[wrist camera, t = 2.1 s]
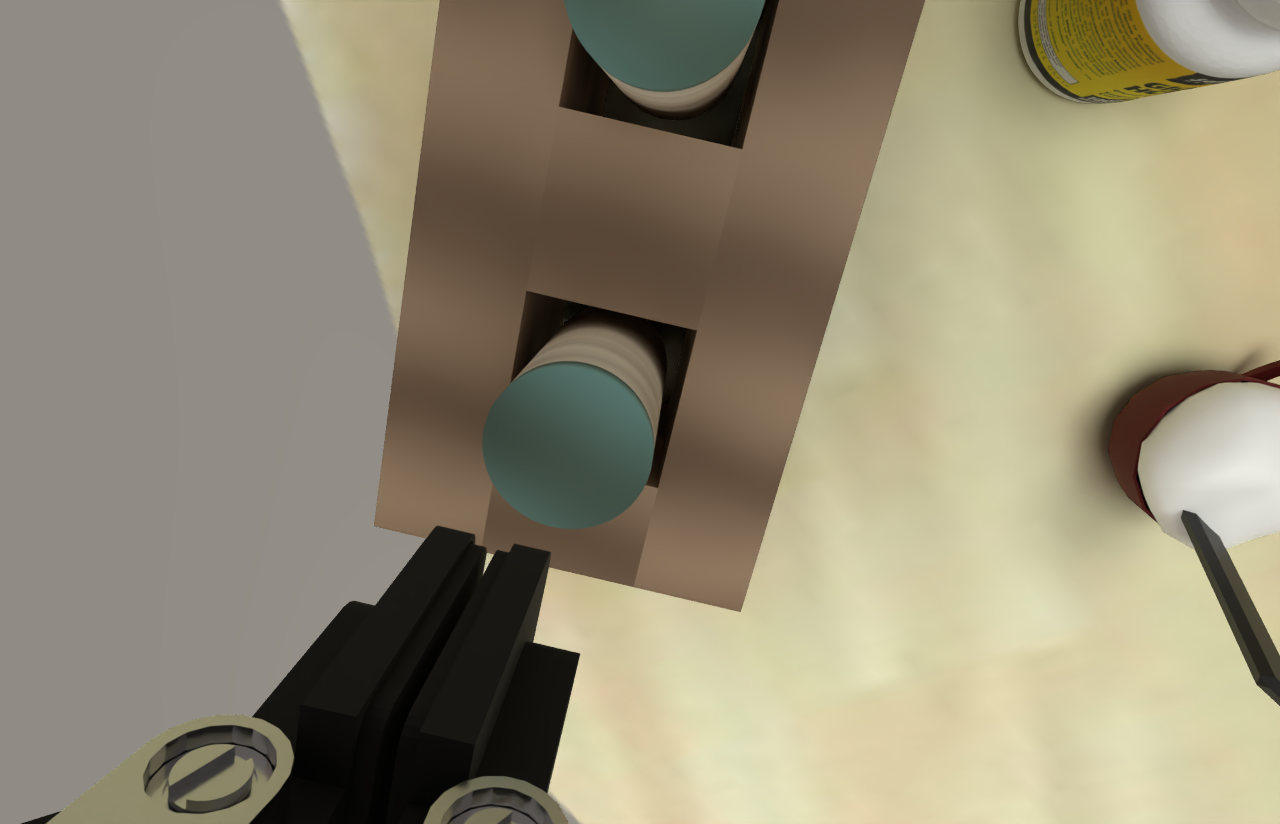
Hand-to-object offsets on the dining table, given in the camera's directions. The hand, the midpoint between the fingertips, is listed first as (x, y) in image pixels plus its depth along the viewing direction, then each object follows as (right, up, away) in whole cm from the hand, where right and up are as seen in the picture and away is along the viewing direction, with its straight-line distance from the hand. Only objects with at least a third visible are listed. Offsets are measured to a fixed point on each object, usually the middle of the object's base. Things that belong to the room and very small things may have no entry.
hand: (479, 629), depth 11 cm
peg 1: (+3, +14, +12) cm, 19 cm away
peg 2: (+1, +5, +15) cm, 16 cm away
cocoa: (+23, +2, +20) cm, 31 cm away
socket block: (+3, +11, +19) cm, 22 cm away
